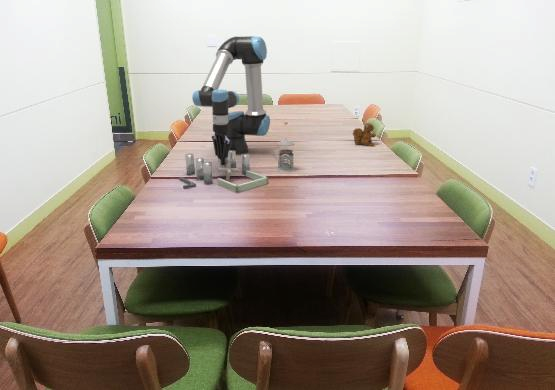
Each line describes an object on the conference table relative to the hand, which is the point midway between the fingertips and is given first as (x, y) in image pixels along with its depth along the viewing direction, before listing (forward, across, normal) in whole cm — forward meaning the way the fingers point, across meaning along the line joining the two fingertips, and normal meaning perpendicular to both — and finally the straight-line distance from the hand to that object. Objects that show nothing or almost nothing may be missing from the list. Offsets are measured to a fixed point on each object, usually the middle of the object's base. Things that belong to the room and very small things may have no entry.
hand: (221, 170), depth 222 cm
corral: (+3, +15, +1) cm, 15 cm away
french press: (+3, +11, +31) cm, 33 cm away
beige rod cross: (+3, +5, 0) cm, 6 cm away
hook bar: (+4, -4, -20) cm, 20 cm away
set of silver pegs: (+3, -6, +1) cm, 7 cm away
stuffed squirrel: (+1, +6, +102) cm, 102 cm away
